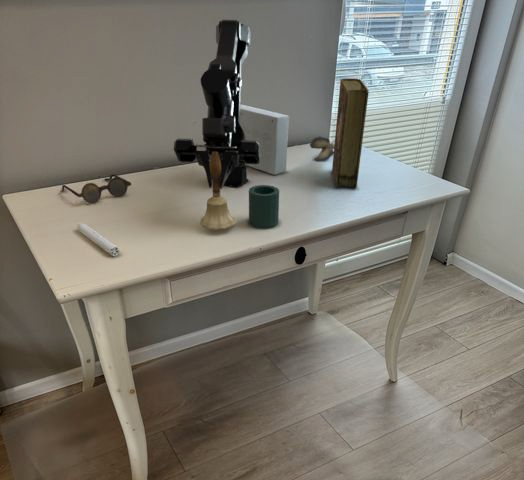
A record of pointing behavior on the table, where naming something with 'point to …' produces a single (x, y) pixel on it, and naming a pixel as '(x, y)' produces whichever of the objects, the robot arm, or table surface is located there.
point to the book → (349, 132)
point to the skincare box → (266, 137)
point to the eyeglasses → (93, 192)
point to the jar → (263, 206)
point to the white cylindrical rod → (98, 239)
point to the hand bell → (216, 201)
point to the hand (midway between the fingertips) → (215, 187)
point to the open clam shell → (323, 148)
